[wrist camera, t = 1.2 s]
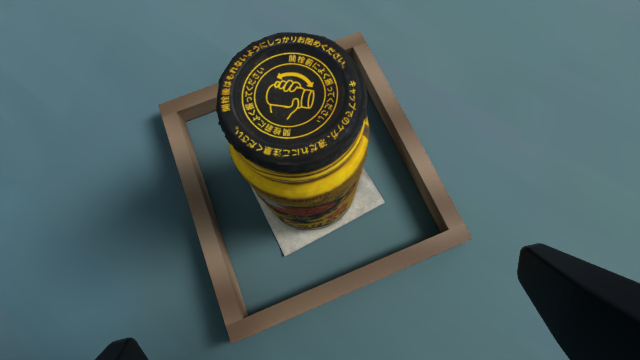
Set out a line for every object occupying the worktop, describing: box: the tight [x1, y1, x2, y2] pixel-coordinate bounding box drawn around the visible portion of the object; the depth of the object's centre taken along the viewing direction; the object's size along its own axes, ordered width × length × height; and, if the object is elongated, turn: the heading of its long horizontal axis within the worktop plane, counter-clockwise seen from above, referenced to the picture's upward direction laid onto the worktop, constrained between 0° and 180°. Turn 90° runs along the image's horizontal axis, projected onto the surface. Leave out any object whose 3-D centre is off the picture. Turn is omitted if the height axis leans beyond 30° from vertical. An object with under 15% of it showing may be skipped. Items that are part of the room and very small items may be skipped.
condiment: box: [216, 32, 385, 256], centre depth 17 cm, size 7×8×12 cm
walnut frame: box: [158, 32, 472, 344], centre depth 22 cm, size 16×15×2 cm
